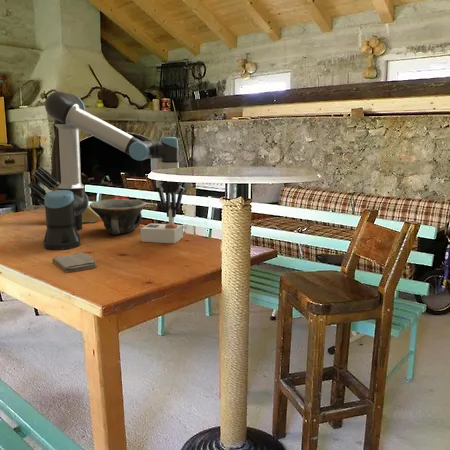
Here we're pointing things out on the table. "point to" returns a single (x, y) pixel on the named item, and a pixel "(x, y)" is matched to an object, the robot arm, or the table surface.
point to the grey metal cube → (152, 225)
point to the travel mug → (78, 222)
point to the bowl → (119, 214)
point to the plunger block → (161, 234)
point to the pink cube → (171, 226)
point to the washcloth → (75, 262)
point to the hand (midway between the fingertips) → (171, 224)
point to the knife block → (50, 184)
